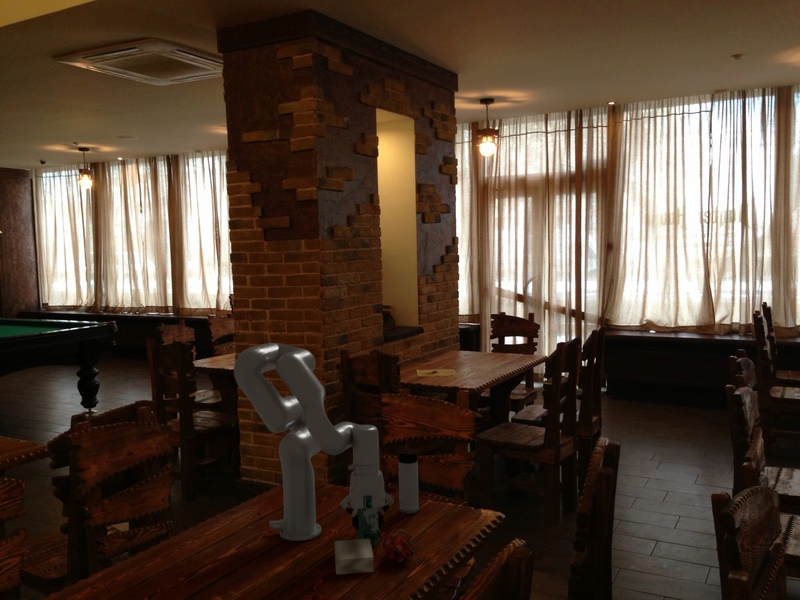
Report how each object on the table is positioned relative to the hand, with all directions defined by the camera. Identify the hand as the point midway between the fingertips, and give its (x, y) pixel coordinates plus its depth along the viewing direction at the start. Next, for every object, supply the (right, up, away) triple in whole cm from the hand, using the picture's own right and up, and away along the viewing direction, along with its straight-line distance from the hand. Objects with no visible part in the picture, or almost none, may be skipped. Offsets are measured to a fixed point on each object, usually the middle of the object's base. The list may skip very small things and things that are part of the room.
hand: (368, 527), depth 205 cm
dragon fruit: (+9, -5, -11) cm, 15 cm away
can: (0, -5, 0) cm, 5 cm away
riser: (-3, -6, -13) cm, 15 cm away
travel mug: (+12, -3, +24) cm, 27 cm away
